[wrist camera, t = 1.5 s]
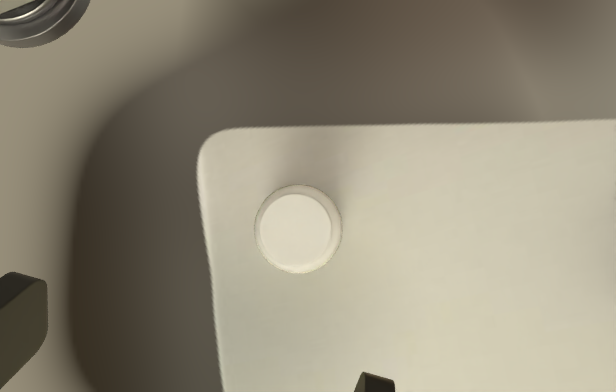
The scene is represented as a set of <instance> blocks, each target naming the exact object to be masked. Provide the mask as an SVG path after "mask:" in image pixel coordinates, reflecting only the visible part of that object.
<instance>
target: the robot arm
mask: <svg viewBox="0 0 616 392" xmlns="http://www.w3.org/2000/svg"><path fill="white" fill-rule="evenodd" d="M56 2H57V0H0V24H3V25H16V24H22V23H26V22H29V21H32V20H34V19H36V18H38V17H39V16H41V15H43V14H44V13H45V12H47V11H48V10H49V9H50V8H51V7H52V6H53V5H54V4H55V3H56ZM47 305H48V302H47V284H46V282H45V281H44V280H41V279H38V278H34V277H30V276H27V275H23V274H20V273H16V272H10V273H7V274H5V275H4V276H3V277H1V278H0V389H1V388H2V387H3V386H4V385H5V384H6V383H7V382H8V381H9V380H10V379H11V378H12V377H13V376H14V375H15V374H16V373H17V372H18V371H19V370H20V369H21V368H22V367H23V366H24V365H25V364H26V363H27V362H28V361H29V360H30V359H31V357H33V356H34V355H35V353H36V352H37V351H38V350H39V348H40V347H41V345H42V343H43V342H44V340H45V337H46V334H47V330H48V309H47V308H48V307H47ZM354 392H395V384H394V381H393V380H391V379H387V378H384V377H380V376H376V375H373V374H369V373H366V372H362V374H361V375H360V378H359V380H358V383H357V385H356V388H355V390H354Z"/></svg>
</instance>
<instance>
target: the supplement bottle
mask: <svg viewBox="0 0 616 392" xmlns="http://www.w3.org/2000/svg"><path fill="white" fill-rule="evenodd" d="M254 233H255V240H256V243H257V246H258V248H259V250H260V252H261V253H262V255H263V256H264V257H265V259H266V260H267V261H268V262H269V263H271V264H272V265H273V266H275V267H277V268H278V269H281V270H283V271H286V272H290V273H307V272H311V271H314V270H316V269H318V268H320V267H322V266H323V265H324V264H326V263H327V262H328V261H329V260H330V259H331V258H332V257H333V255H334V254H335V252H336V251H337V249H338V247H339V244H340V242H341V238H342V220H341V216H340V213H339V211H338V209H337V207H336V205H335V204H334V203H333V201H332V200H331V199H330V198H329V197H328V196H327V195H326V194H324V193H323V192H322V191H320V190H318V189H316V188H313V187H310V186H306V185H290V186H286V187H283V188H281V189H278V190H277V191H275V192H273V193H272V194H271V195H270V196H269V197H267V198H266V200H265V201H264V202H263V204H262V205H261V207H260V209H259V211H258V213H257V215H256V219H255V225H254Z"/></svg>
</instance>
